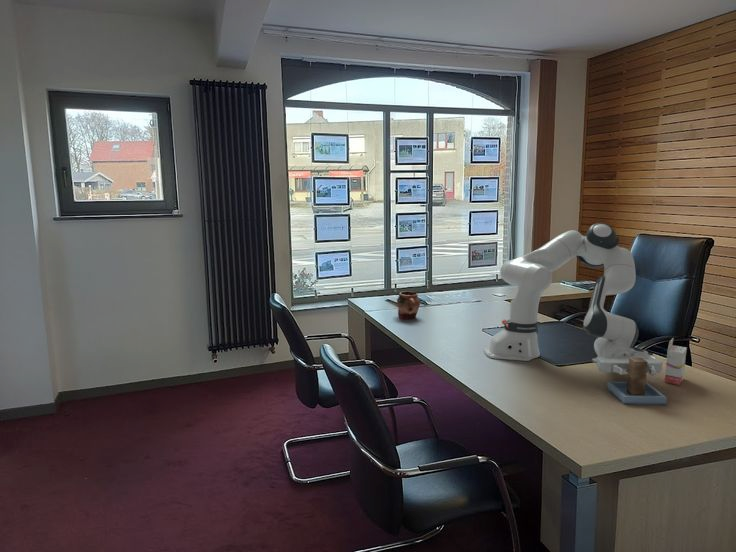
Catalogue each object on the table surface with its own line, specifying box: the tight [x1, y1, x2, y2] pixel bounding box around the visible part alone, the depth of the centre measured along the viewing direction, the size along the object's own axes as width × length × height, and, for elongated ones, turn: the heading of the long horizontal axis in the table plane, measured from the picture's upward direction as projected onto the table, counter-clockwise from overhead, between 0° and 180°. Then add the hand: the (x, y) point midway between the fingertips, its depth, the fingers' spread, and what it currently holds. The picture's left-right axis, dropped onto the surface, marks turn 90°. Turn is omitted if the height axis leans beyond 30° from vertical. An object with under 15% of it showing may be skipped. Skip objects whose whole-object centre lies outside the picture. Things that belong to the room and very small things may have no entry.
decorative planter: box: [396, 290, 421, 320], centre depth 269 cm, size 20×12×14 cm, turn 18°
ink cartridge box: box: [664, 337, 688, 386], centre depth 176 cm, size 9×5×15 cm, turn 141°
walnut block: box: [626, 358, 648, 396], centre depth 163 cm, size 4×4×12 cm
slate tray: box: [606, 381, 668, 406], centre depth 164 cm, size 13×13×2 cm
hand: (638, 372), depth 162 cm, fingers open, 8 cm apart
